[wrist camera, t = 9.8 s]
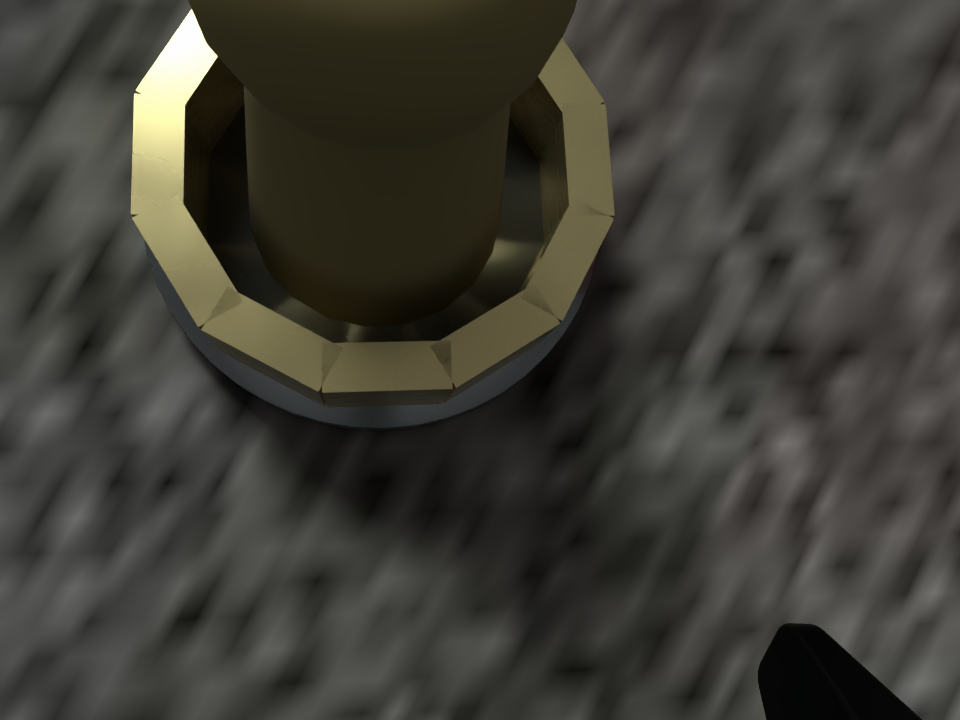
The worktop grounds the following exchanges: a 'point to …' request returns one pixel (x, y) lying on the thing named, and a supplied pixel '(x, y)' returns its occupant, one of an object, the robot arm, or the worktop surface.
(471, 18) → the cork
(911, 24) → the worktop surface
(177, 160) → the collar socket
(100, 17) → the worktop surface
